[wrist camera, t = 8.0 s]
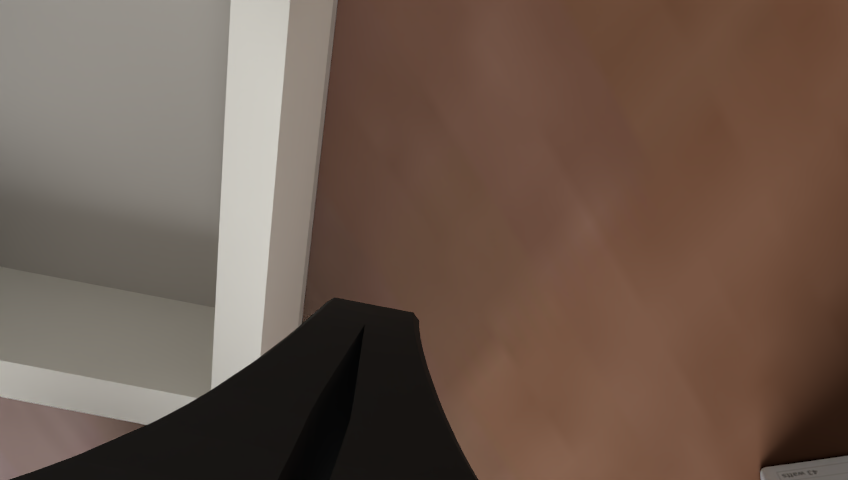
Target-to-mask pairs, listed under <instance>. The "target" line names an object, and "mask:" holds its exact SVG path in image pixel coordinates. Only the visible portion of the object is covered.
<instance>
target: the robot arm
mask: <svg viewBox="0 0 848 480" xmlns="http://www.w3.org/2000/svg"><path fill="white" fill-rule="evenodd" d="M10 480H478V479H477V477H476V475H475V473H474V472H473V470H472V468H471V467H470V465H469V463H468V461H467V459H466V457H465V455H464V453H463V452H462V450H461V448H460V446H459V444H458V442H457V440H456V437H455V435H454V433H453V431H452V429H451V427H450V424H449V422H448V420H447V418H446V416H445V413H444V411H443V408H442V406H441V403H440V401H439V398H438V395H437V393H436V390H435V387H434V384H433V382H432V379H431V376H430V373H429V370H428V367H427V363H426V360H425V356H424V352H423V348H422V344H421V339H420V332H419V320H418V319H417V317H416V316H415V314H414V313H413V312H407V311H402V310H397V309H392V308H386V307H381V306H376V305H371V304H365V303H360V302H355V301H350V300H344V299H339V298H333V299H331V300H330V301H328V302H327V303H325V304H324V305H323V306H322V307H321V308H320V309H319V310H317V311H316V312H315V313H314V314H313V315H312V316H311V317H309V318H308V319H307V320H306V321H305V322H304V323H302V324H301V325H300V326H299V327H298V328H296V329H295V330H294V331H293V332H292V333H290V334H289V335H288V336H287V337H285V338H284V339H283V340H281V341H280V342H279V343H278V344H276V345H275V346H274V347H272V348H271V349H270V350H268V351H267V352H266V353H264V354H263V355H262V356H261V357H259V358H258V359H256V360H255V361H254V362H252V363H251V364H249V365H248V366H246V367H245V368H243V369H242V370H240V371H239V372H237V373H236V374H234V375H233V376H231V377H230V378H228V379H227V380H225V381H224V382H222V383H221V384H219V385H218V386H216V387H215V388H213V389H212V390H210V391H209V392H207V393H205V394H204V395H202V396H200V397H199V398H197V399H195V400H194V401H192V402H190V403H188V404H187V405H185V406H183V407H181V408H179V409H177V410H175V411H174V412H172V413H170V414H168V415H166V416H164V417H162V418H160V419H158V420H156V421H154V422H152V423H150V424H148V425H146V426H144V427H141V428H139V429H137V430H134V431H132V432H130V433H128V434H125V435H123V436H121V437H118V438H116V439H114V440H112V441H109V442H107V443H105V444H102V445H100V446H98V447H95V448H93V449H91V450H89V451H86V452H84V453H82V454H79V455H77V456H74V457H72V458H69V459H66V460H64V461H61V462H58V463H55V464H53V465H50V466H47V467H45V468H42V469H39V470H36V471H34V472H31V473H28V474H25V475H22V476H19V477H16V478H13V479H10Z"/></svg>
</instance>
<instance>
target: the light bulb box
mask: <svg viewBox="0 0 848 480" xmlns="http://www.w3.org/2000/svg"><path fill="white" fill-rule="evenodd" d="M760 477H761V480H848V456H841V457H835V458H828V459H821V460H814V461H807V462H800V463H793V464H785V465H778V466H770V467H765V468H762V470H761V472H760Z"/></svg>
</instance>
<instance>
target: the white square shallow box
mask: <svg viewBox="0 0 848 480" xmlns="http://www.w3.org/2000/svg"><path fill="white" fill-rule="evenodd" d="M337 3H338V0H0V397H4V398H10V399H15V400H20V401H25V402H30V403H36V404H41V405H46V406H51V407H56V408H62V409H67V410H72V411H77V412H82V413H87V414H93V415H98V416H103V417H108V418H113V419H119V420H124V421H129V422H134V423H139V424H145V425H148V424H150V423H152V422H154V421H156V420H158V419H160V418H162V417H164V416H166V415H168V414H170V413H172V412H174V411H175V410H177V409H179V408H181V407H183V406H185V405H187V404H188V403H190V402H192V401H194V400H195V399H197V398H199V397H200V396H202V395H204V394H205V393H207V392H209V391H210V390H212V389H213V388H215V387H216V386H218V385H219V384H221V383H222V382H224V381H225V380H227V379H228V378H230V377H231V376H233V375H234V374H236V373H237V372H239V371H240V370H242V369H243V368H245V367H246V366H248V365H249V364H251V363H252V362H254V361H255V360H256V359H258V358H259V357H261V356H262V355H263V354H264V353H266V352H267V351H268V350H270V349H271V348H272V347H274V346H275V345H276V344H278V343H279V342H280V341H281V340H283V339H284V338H285V337H287V336H288V335H289V334H290V333H292V332H293V331H294V330H295V329H296V328H298V327H299V326H300V325H301V324H302V318H303V309H304V300H305V291H306V282H307V273H308V264H309V255H310V246H311V237H312V228H313V219H314V210H315V201H316V192H317V183H318V174H319V165H320V156H321V147H322V138H323V129H324V120H325V111H326V102H327V93H328V84H329V75H330V66H331V57H332V48H333V39H334V30H335V21H336V12H337Z"/></svg>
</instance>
